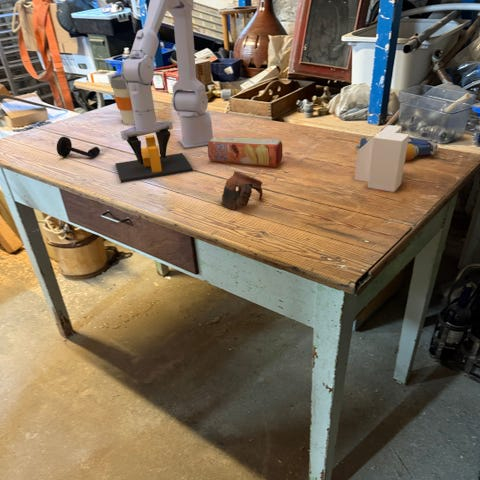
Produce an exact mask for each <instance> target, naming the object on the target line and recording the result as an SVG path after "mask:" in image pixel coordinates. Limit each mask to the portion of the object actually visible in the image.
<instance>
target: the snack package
mask: <svg viewBox="0 0 480 480" xmlns="http://www.w3.org/2000/svg"><path fill="white" fill-rule="evenodd" d="M283 154H284V153H283V142H282V140H281V139H268V138H266V139H265V138H245V137H244V138H243V137H222V136H220V137H219V136H213V138H212V139H211V140H210V141H209V143H208V145H207V157H208V159H209V161H211V162H224V163H231V164H232V163H233V164H244V165H253V166H254V165H255V166H265V167H272V168H276V167H278V166H279V165H280V164H281V163H282V160H283V156H284V155H283Z"/></svg>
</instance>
